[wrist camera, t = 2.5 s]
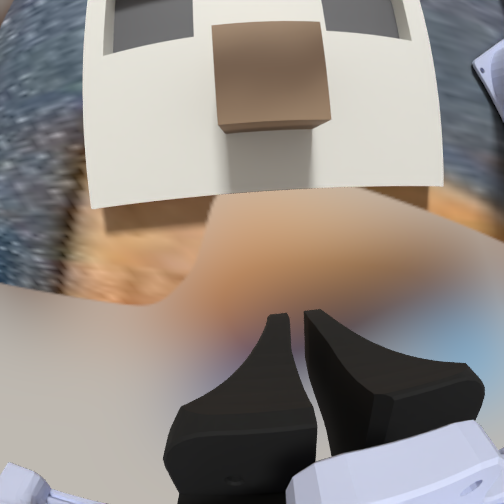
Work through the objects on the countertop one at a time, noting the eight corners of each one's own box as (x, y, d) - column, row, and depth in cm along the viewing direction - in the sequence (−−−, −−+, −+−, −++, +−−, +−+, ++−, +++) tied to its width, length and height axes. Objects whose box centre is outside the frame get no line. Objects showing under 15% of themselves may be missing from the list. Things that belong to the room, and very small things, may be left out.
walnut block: (312, 129, 17) (331, 119, 13) (225, 133, 17) (217, 125, 13) (304, 50, 16) (320, 21, 12) (219, 54, 16) (211, 25, 12)
